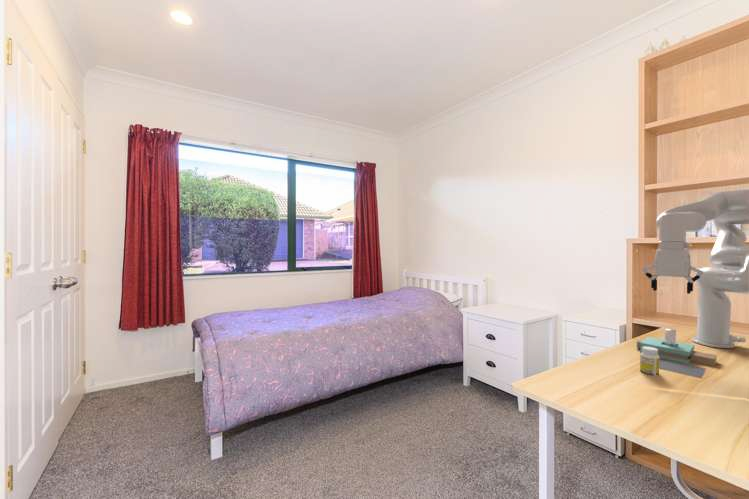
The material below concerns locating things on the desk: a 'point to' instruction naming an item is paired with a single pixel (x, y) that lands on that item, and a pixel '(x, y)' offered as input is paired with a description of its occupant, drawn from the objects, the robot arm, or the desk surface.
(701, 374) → the rubber mat
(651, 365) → the supplement bottle
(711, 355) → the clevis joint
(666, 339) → the steel pin
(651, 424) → the desk surface
